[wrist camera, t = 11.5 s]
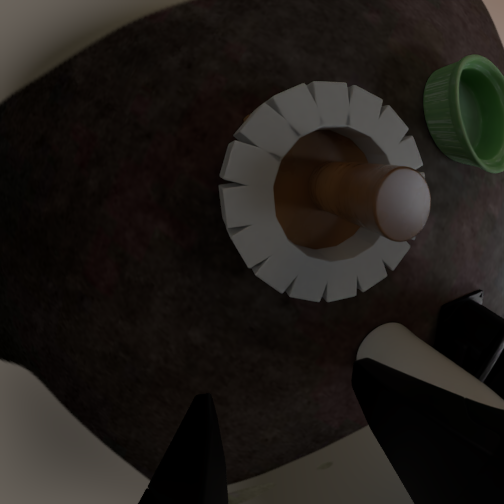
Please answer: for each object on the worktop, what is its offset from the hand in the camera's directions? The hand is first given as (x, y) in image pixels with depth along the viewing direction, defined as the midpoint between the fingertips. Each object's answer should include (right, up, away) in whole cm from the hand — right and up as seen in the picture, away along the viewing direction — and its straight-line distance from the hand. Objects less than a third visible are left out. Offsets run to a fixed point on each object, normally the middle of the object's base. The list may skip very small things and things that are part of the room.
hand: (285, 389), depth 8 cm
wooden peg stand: (+3, +8, +11) cm, 14 cm away
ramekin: (+15, +15, +11) cm, 24 cm away
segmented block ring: (+3, +7, +9) cm, 12 cm away
